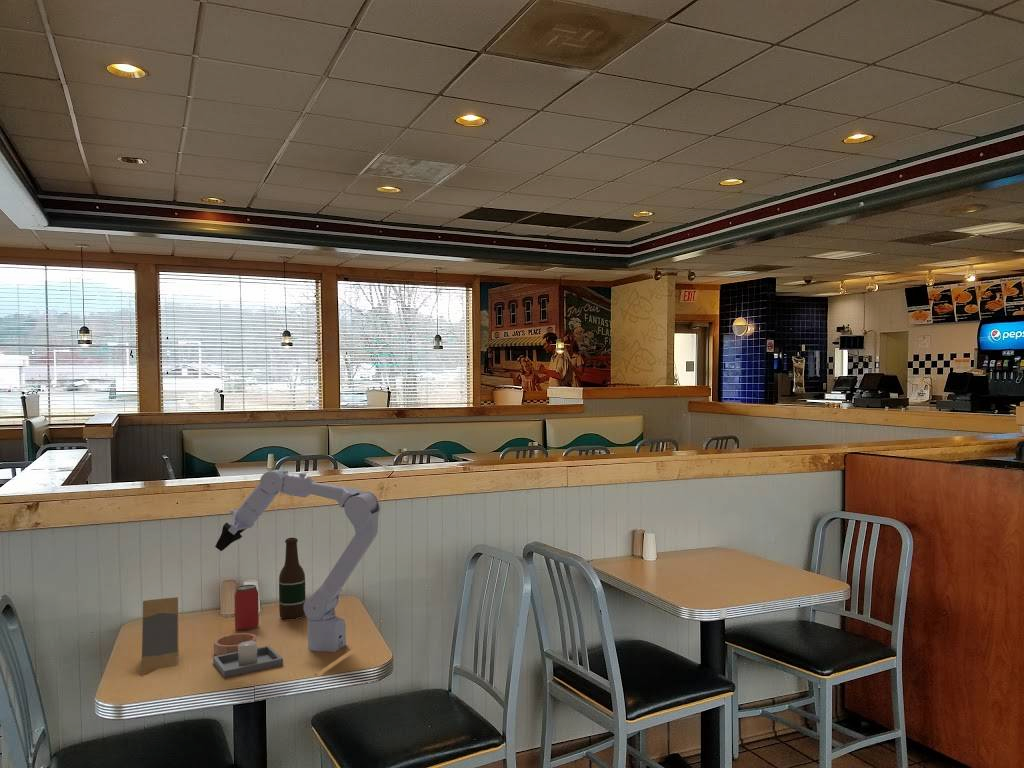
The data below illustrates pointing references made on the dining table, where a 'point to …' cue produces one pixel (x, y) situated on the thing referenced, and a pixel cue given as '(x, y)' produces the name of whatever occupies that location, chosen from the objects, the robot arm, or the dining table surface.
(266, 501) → the robot arm
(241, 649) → the white cylinder
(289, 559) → the beer bottle
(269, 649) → the tray
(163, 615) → the sandwich container
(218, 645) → the bowl
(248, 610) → the beer can
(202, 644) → the dining table surface
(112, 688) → the dining table surface
